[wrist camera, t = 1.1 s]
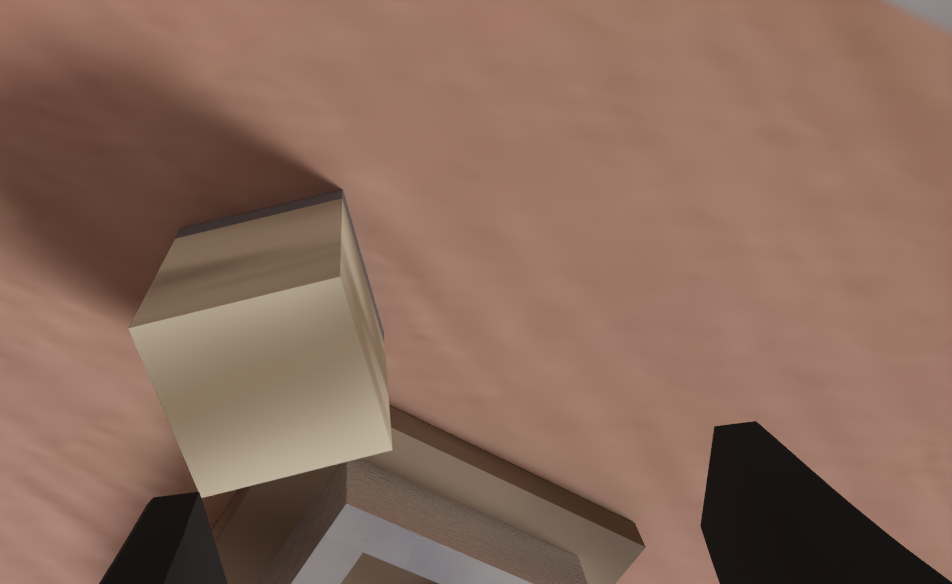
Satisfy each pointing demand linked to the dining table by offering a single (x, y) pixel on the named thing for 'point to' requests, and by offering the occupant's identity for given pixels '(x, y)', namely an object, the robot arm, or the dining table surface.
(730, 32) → the dining table surface
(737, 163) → the dining table surface
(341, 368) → the sleeve block
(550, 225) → the dining table surface
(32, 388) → the dining table surface
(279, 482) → the collar board
